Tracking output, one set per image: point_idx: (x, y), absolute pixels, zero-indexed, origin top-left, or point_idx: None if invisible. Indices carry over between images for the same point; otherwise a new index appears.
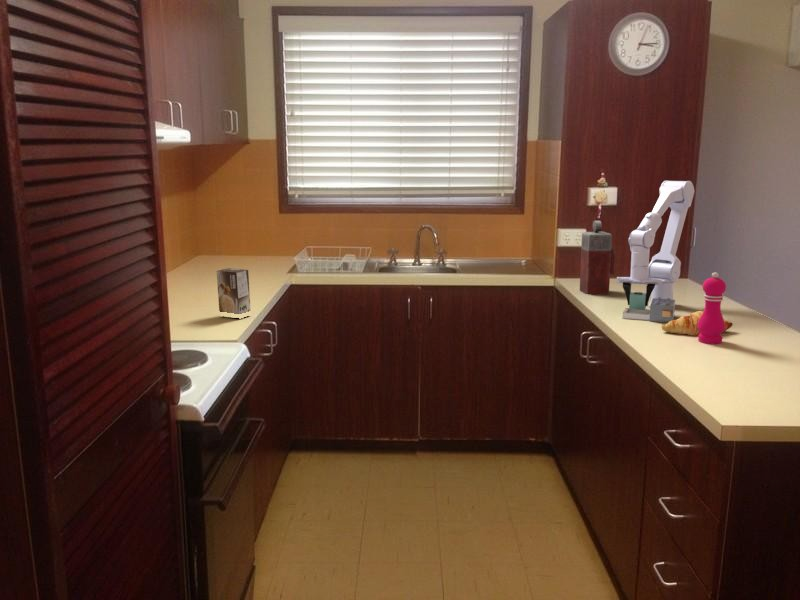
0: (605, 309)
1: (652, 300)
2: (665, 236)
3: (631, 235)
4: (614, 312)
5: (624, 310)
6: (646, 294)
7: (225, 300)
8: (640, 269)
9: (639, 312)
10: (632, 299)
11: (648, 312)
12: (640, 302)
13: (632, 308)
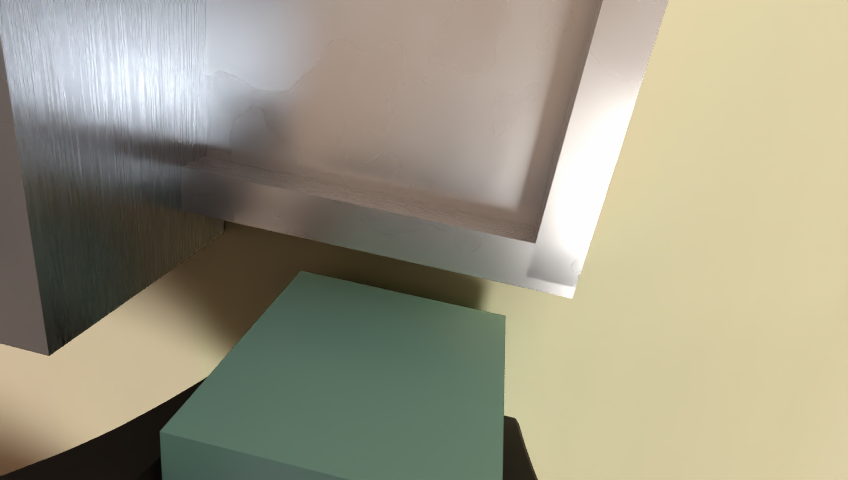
0: (797, 458)
1: (2, 105)
2: None
3: None
4: (716, 294)
5: (635, 76)
6: (135, 472)
7: None
8: None
9: (370, 188)
10: (448, 418)
11: (244, 167)
12: (316, 354)
13: (463, 269)
